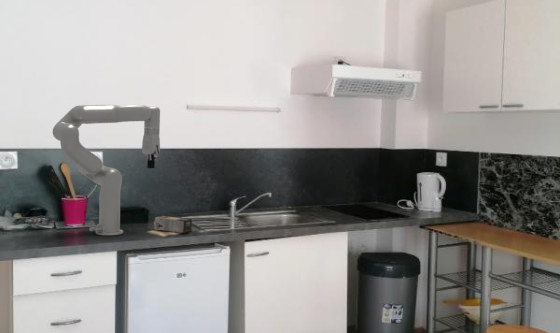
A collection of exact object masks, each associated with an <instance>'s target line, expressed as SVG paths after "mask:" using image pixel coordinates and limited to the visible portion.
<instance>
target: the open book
mask: <svg viewBox="0 0 560 333" xmlns="http://www.w3.org/2000/svg"><path fill="white" fill-rule="evenodd" d="M146 233H147V234H151V235H154V236H158V237H163V238H164V237H165V238H166V237H171V236H176V235H182V233H179V232H171V231H164V230H156V229H154V230H148V231H146Z"/></svg>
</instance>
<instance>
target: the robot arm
mask: <svg viewBox="0 0 560 333" xmlns="http://www.w3.org/2000/svg"><path fill="white" fill-rule="evenodd" d="M123 122H125V123H126V122H129V123H130V122H144V123H143V124H144V126H143V136H142V144H141V145H142V146H141V153H142V154H144V156H145V157H146V161H147V164H146V166H147V169H155V166H156V164H155V163H156V158H158V156H159V154H160V153H161V141H160V139H161V138H160V127H161V110H160V107H158V106H148V105H144V104H143V105H141V104H140V105H138V104H137V105H118V104H94V105H93V104H90V105H89V104H84V105H75V106H73V107H72V108H70V110H69V111H68V112H67V113H66V114H65V115H64V116H62V118H60V119H59V121H57V122H56V123H55V125H54V126H53V128H52V136H53V137H54V138H55V140H57V141H59V143H60V147H61V151H62V153H63V155H64V156H65V157H66V158H67V159H68V160H69V161H71V162H72V163H73V164H74V167H75V169H76V170H77V171H78V172H79V173H81V175H83V176H85V178H87V179H88V180H90V181H92V182H93V183H94V184H95V185H98V186H100V190H99V197H98V198H99V200H98V204H99V205H98V206H99V207H98V210H99V212H98V213H99V215H98V216H99V217H98V223H97V224H96V226H90V227H89V230H88V231H90V232H95V234H96V235H97V236H98V235H99V236H105V237H106V236H109V237H110V236H118V235H121V234H122V235H123V233H124V230H123V229H121V189H122V183H123V176H122V173H121V172H120V170H118V169H117V168H114V167H110V166H106V165H104V163H103V161H102V159H101V158H100V157H98V155H95V153H93V152H92V151H90V150H89V149H87V148H86V147H84V146H83V145H82V143H81V142H80V131H79V128H80V127H81V126H82V125H84V124H85V125H86V124H87V125H88V124H89V125H91V124H114V123H123Z"/></svg>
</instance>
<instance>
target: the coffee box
mask: <svg viewBox="0 0 560 333" xmlns="http://www.w3.org/2000/svg"><path fill="white" fill-rule="evenodd" d="M192 225H193V219H192V218H184V217H178V216H177V217H176V216H175V217H174V216H167V215H160V216H156V217H154V230H164V231H171V232H179V233H181V234H186V233H189V232H191V233H192Z"/></svg>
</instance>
